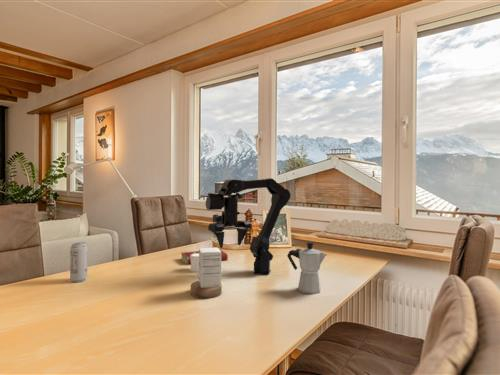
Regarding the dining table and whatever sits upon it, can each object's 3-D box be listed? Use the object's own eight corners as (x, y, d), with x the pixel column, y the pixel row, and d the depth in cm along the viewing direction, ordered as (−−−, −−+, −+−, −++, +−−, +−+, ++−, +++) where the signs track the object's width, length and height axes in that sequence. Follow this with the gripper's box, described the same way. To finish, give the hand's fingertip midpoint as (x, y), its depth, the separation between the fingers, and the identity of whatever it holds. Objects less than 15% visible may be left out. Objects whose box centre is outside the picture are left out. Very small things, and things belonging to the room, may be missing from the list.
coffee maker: (327, 288, 119) (328, 241, 119) (325, 296, 111) (326, 245, 111) (289, 283, 124) (289, 238, 124) (284, 290, 116) (285, 242, 116)
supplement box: (198, 281, 116) (198, 247, 116) (218, 280, 118) (218, 247, 117) (200, 288, 109) (200, 252, 108) (221, 287, 110) (221, 251, 110)
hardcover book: (227, 261, 159) (227, 253, 159) (187, 266, 149) (187, 257, 149) (219, 256, 170) (219, 248, 169) (180, 260, 160) (180, 252, 160)
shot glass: (202, 272, 137) (202, 257, 137) (187, 271, 139) (187, 256, 138) (207, 268, 144) (207, 253, 144) (193, 267, 145) (193, 252, 145)
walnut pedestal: (225, 289, 117) (225, 281, 117) (215, 300, 106) (215, 291, 106) (197, 286, 119) (197, 278, 119) (185, 296, 109) (185, 288, 109)
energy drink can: (89, 280, 125) (89, 243, 125) (73, 283, 121) (73, 245, 120) (84, 277, 129) (84, 241, 129) (67, 280, 125) (67, 243, 124)
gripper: (237, 206, 143) (236, 240, 143) (201, 208, 131) (201, 245, 132) (252, 208, 134) (252, 245, 135) (216, 211, 123) (215, 250, 123)
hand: (230, 246), depth 131 cm, fingers open, 9 cm apart
